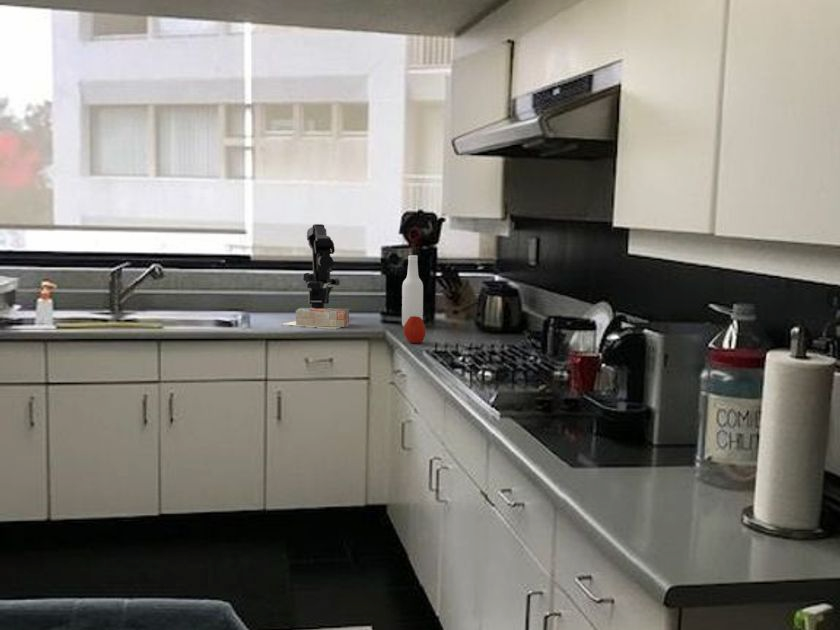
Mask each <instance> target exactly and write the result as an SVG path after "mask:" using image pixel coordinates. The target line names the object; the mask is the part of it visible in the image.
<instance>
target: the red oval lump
mask: <svg viewBox="0 0 840 630" xmlns="http://www.w3.org/2000/svg"><path fill="white" fill-rule="evenodd" d="M423 320H424V319H423ZM423 320H422V319H421V318H420V317H417V316H411V317H410V318H409V319H408V320H407V322H406V323H405V326H404V327H403V330H402V331H403V335H404V337H405V339H406V341H407V342H409V343H413V344H421V343H423V341H424V339H425V337H426V324H425V323H424V321H423Z"/></svg>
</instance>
